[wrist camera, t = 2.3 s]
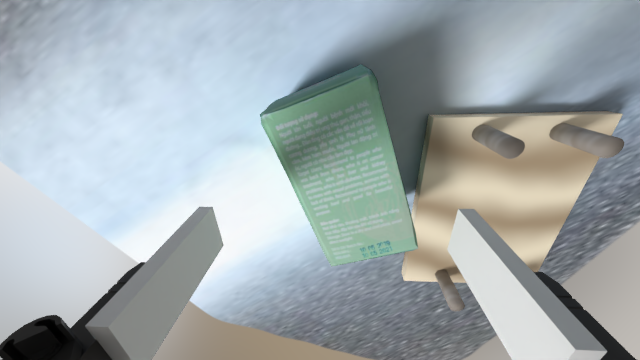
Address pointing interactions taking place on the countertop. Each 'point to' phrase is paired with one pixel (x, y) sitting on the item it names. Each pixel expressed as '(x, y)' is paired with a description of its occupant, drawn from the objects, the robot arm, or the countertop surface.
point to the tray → (502, 183)
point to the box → (343, 166)
